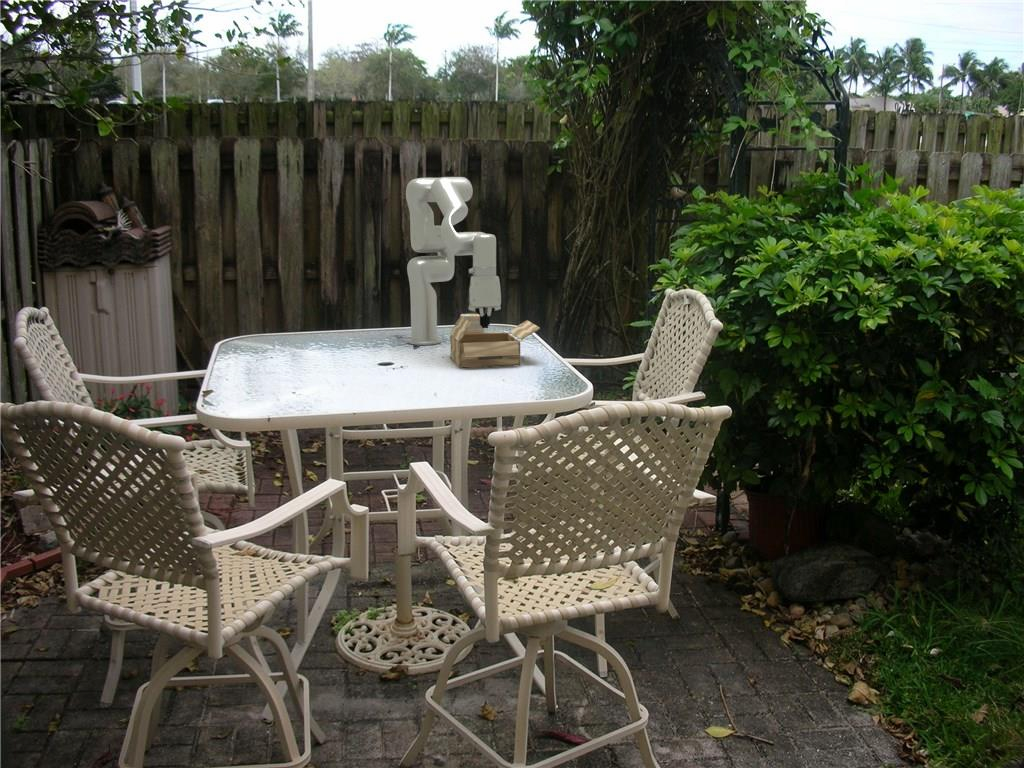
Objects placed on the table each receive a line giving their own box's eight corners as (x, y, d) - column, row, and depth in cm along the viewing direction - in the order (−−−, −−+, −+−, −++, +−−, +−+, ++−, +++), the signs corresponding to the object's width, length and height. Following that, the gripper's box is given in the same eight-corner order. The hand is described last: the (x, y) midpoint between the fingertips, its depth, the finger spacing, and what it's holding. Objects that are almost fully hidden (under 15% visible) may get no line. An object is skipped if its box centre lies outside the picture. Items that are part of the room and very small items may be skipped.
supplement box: (485, 350, 343) (485, 313, 340) (483, 352, 338) (483, 315, 335) (462, 349, 344) (461, 313, 341) (460, 352, 339) (459, 315, 336)
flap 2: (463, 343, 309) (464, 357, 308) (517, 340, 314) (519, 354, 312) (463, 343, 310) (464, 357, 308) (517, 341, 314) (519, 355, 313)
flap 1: (449, 333, 325) (460, 315, 325) (450, 334, 325) (461, 315, 325) (458, 341, 310) (470, 322, 310) (459, 342, 310) (471, 323, 310)
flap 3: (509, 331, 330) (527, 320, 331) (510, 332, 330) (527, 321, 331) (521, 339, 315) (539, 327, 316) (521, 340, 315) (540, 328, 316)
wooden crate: (450, 358, 328) (450, 335, 326) (507, 355, 332) (508, 333, 331) (460, 368, 311) (459, 343, 310) (520, 365, 316) (520, 341, 314)
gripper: (464, 273, 310) (464, 330, 314) (509, 272, 314) (509, 328, 318) (459, 271, 317) (460, 326, 321) (504, 270, 321) (504, 325, 325)
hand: (484, 327), depth 319 cm, fingers closed
